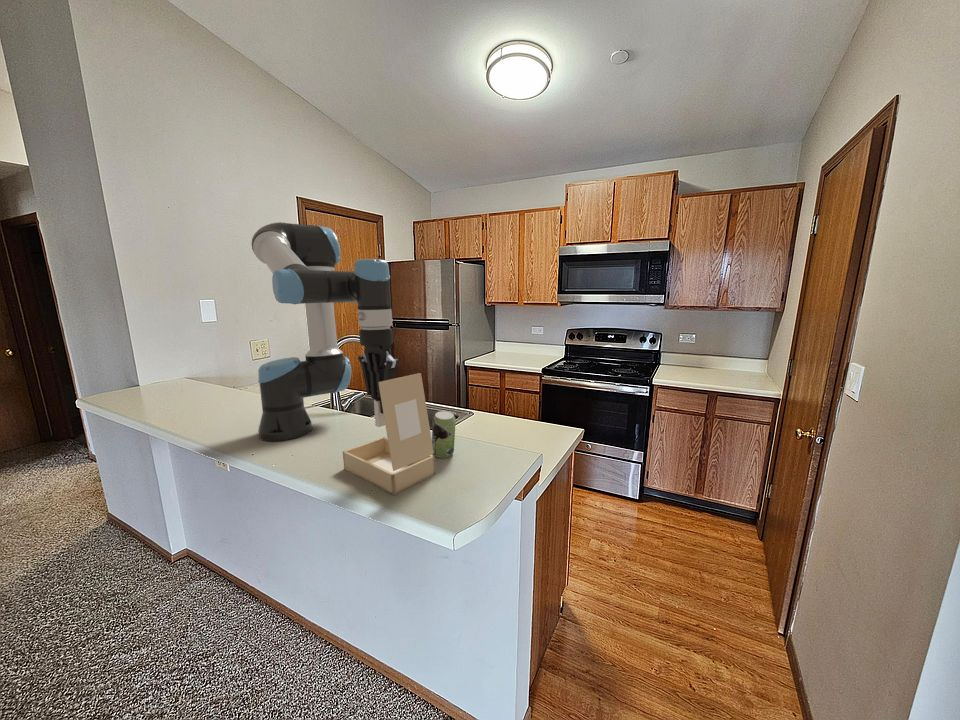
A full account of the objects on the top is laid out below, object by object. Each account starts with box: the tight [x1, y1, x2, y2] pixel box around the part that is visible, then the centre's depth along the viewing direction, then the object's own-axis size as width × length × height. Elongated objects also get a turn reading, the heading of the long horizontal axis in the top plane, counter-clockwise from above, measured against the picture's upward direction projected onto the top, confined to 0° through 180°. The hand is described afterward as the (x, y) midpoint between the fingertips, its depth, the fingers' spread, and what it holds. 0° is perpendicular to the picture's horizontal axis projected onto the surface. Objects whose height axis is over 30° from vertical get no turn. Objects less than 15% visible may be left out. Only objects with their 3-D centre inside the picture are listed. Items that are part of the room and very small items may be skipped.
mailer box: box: [342, 436, 436, 496], centre depth 92 cm, size 20×12×5 cm, turn 50°
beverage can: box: [431, 410, 457, 459], centre depth 100 cm, size 6×7×12 cm
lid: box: [378, 372, 434, 471], centre depth 85 cm, size 19×12×1 cm
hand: (382, 424), depth 92 cm, fingers closed
